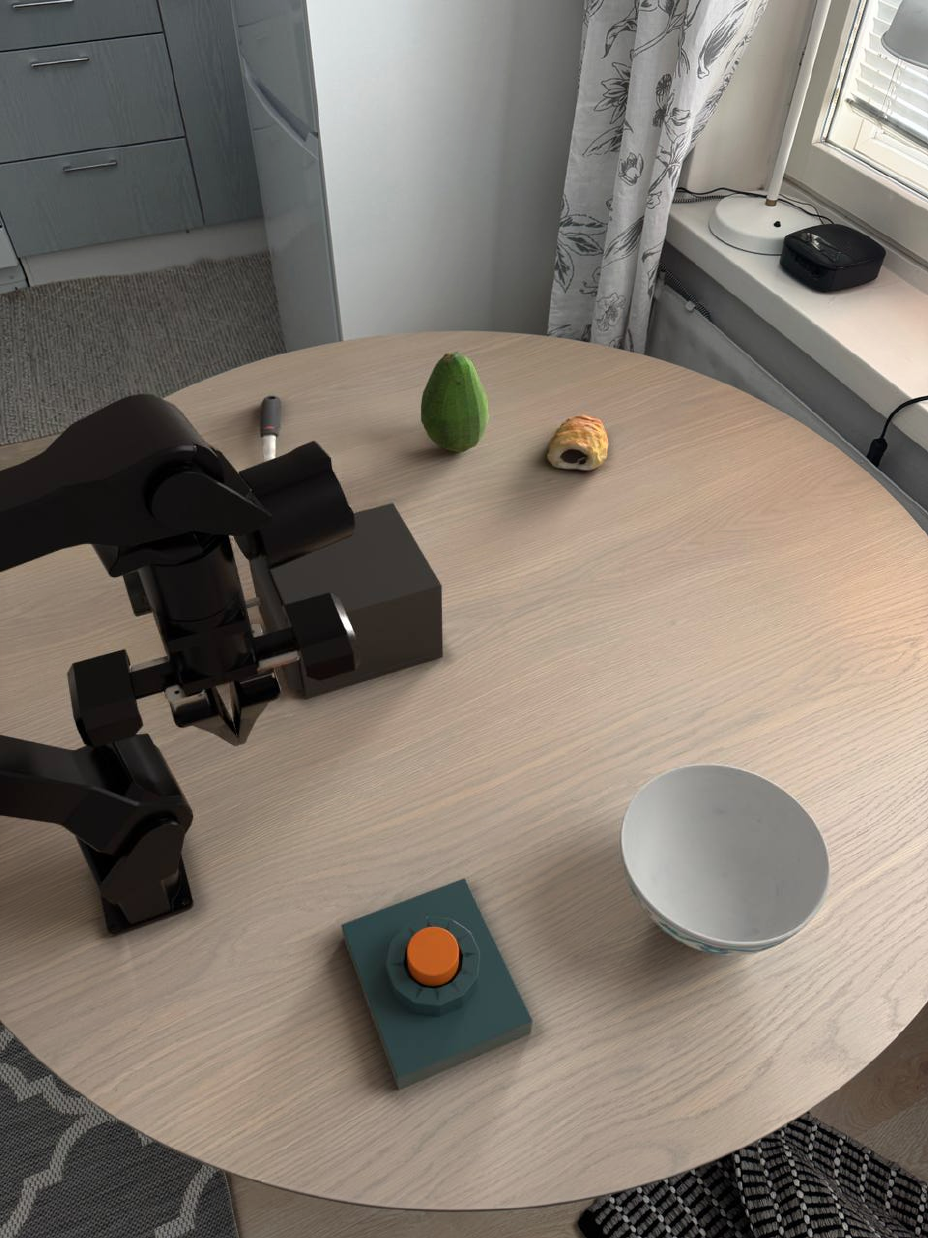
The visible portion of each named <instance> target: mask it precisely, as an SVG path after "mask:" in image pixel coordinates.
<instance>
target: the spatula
mask: <svg viewBox="0 0 928 1238" xmlns="http://www.w3.org/2000/svg"><path fill="white" fill-rule="evenodd" d="M281 416H282V400H281V398H280V397H278V396H276V395H268V396H266V397H264V398H263V399H262V400H261V407H260V423H259V435H260V437H261V439H262V463H263V462H266V461H269V460H271V459H274V458H277V456H276V450H277V449H276V442H277V440H276V439H277V438H278V437H279V435H280V426H281V418H282V417H281Z"/></svg>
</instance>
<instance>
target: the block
mask: <svg viewBox="0 0 928 1238" xmlns="http://www.w3.org/2000/svg"><path fill="white" fill-rule="evenodd" d="M428 927H438V928H442V929H445V930H446V931H448V932H449V933H451V934H452V935H453V936H454V938H455V939H456V941H457V944H458V948H459V965H458V969H457V971H456V973H455V975H454V976H453V977H452V979H450V980H449V981H448V982H446V983H444V984H442V985H439V986H427V985H424V984H421V983H419V982H418V981H417V980H415V979H414V978H413V976H412V975H411V973H410V971H409V968H408V960H407V947H408V944H409V941H410V940H411V938H412V937H413V936H414V935H415V934H416V933H417V932H418V931H420V930H422V929H425V928H428ZM341 931H342V937H343V941H344V944H345V946H346V949H347V952H348V955H349V958H350V960H351V963H352V966H353V969H354V971H355V974H356V977H357V979H358V983H359V985H360V988H361V990H362V993H363V997H364V999H365V1001H366V1004H367V1008H368V1010H369V1013H370V1015H371V1018H372V1021H373V1024H374V1027H375V1029H376V1032H377V1035H378V1038H379V1040H380V1043H381V1046H382V1048H383V1052H384V1054H385V1057H386V1060H387V1063H388V1065H389V1068H390V1071H391V1073H392V1076H393V1079H394V1082H395V1085H396V1088H397V1090H398V1091H401V1090H403V1089H406V1088H407V1087H409V1086H412V1085H415V1084H416V1083H419V1082H421V1081H424V1080H426V1079H428V1078H431V1077H433V1076H436V1075H438V1074H440V1073H442V1072H445V1071H447V1070H449V1069H452V1068H453V1067H456V1066H458V1065H461V1064H463V1063H465V1062H467V1061H470V1060H473V1059H475V1058H477V1057H479V1056H482V1055H484V1054H486V1053H488V1052H490V1051H493V1050H496V1049H497V1048H500V1047H502V1046H505V1045H506V1044H507V1045H508V1044H510V1043H512V1042H513V1041H516V1040H519V1039H520V1038H523V1037H525V1036H527V1035H530V1034H531V1033H532V1027H533V1018H532V1016H531V1014H530V1012H529V1010H528V1008H527V1005H526V1003H525V1002H524V999H523V997H522V995H521V992H520V991H519V989H518V986H517V985H516V982H515V980H514V978H513V975H512V974H511V971H510V970H509V968H508V966H507V963H506V961H505V959H504V957H503V955H502V953H501V951H500V948H499V947H498V944H497V942H496V940H495V938H494V936H493V933H492V931H491V929H490V928H489V925H488V923H487V921H486V919H485V917H484V915H483V913H482V910H481V908H480V907H479V904H478V902H477V900H476V898H475V896H474V894H473V892H472V890H471V888H470V885H469V883H468V881H467V879H466V878H465V877H464V878H461V879H458V880H455V881H453V882H451V883H448V884H445V885H442V886H440V887H437V888H434V889H432V890H429V891H426V892H424V893H422V894H418V895H416V896H413V897H411V898H408V899H405V900H403V901H400V902H398V903H395V904H392V905H390V906H387V907H384V908H382V909H378V910H376V911H373V912H371V913H369V914H368V913H367V914H366V915H363V916H360V917H358V918H355V919H353V920H350V921H347V922H344V923H342V924H341Z"/></svg>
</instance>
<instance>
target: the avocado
mask: <svg viewBox="0 0 928 1238" xmlns="http://www.w3.org/2000/svg"><path fill="white" fill-rule="evenodd" d="M480 379H481V378H480V377H479V375H478V373H477V371H476V369H475V366H474V364H473V362H472V361H471V360H470V358H468V357H466V356H465V355H464V354H463V353H461V352H459V351H455V352H447V353H444V355H443V356H442V357H441V358H439V360H438V361H437V363H436V364H435V366H434V367H433V370H432V372H431V373H430V376H429V378H428V381H427V382H426V385H425V387H424V389H423V392H422V396H421V403H420V421H421V423H422V426H423V428H424V430H425V432H426V435H427V437H428V438H429V439H430V440H431V441H432V442H433V443H434V444H436V445H438V447H441V448H443V449H445V450H448V451H451V452H456V453H457V452H458V453H459V452H462V453H464V452H466V451H468V450H471V449H472V448H474V447H476V446H477V445H478V443H480V441H481V440H482V438H483V437H484V435H485V433H486V429H487V426H488V424H489V423H488V422H489V419H490V417H489V403H488V402H489V400H488V397H487V393H486V391H485V389H484V386H483V383H482V381H481V380H480Z"/></svg>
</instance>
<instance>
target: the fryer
mask: <svg viewBox="0 0 928 1238" xmlns="http://www.w3.org/2000/svg"><path fill="white" fill-rule="evenodd" d="M353 513H354V518H355V531H354V534H353V535H352V536H351V537H348V538H346V539H344V540H341V541H339V542H337V543H334V544H332V545H329V546H327V547H325V548H322V549H320V550H318V551H315V552H313V553H310V554H308V555H306V556H303V557H301V558H299V559H296V560H294V561H291V562H289V563H287V564H284V565H282V566H279V567H277V568H275V569H271V570H269V573H270V576H271V578H272V580H273V583H274V585H275V587H276V590H277V592H278V595H279V597H280V599H281V602H282V604H283V605H286V604H289V603H293V602H296V601H300V600H304V599H307V598H311V597H315V596H318V595H322V594H325V593H329V592H330V593H332V594H333V595H335V596H337V597H338V598H339V599H340V601H341V603H342V606H343V608H344V610H345V612H346V615H347V617H348V619H349V622H350V624H351V626H352V629H353V631H354V633H355V636H356V639H357V643H358V646H359V652H360V660H361V663H360V664H359V666H358V667H357V669H356V670H355V671H352V672H348V673H345V674H342V675H338V676H335V677H332V678H328V679H325V680H322V681H318V680H315V679H312V678H309V677H307V675H306V673H305V669H304V664H303V660H302V658H301V655H300V653H299V655H300V659H299V666H300V672H301V678H302V683H303V689H302V692H303V695H304V697H305V699H306V700H308V699H311V698H314V697H319V696H321V695H324V694H328V693H332V692H334V691H338V690H341V689H344V688H347V687H350V686H355V685H357V684H360V683H363V682H367V681H371V680H374V679H376V678H379V677H384V676H386V675H389V674H392V673H396V672H399V671H402V670H405V669H408V668H413V667H415V666H419V665H421V664H425V663H428V662H431V661H435V660H438V659H441V658H443V657H444V652H443V651H444V649H443V586H442V585H443V584H442V583H441V581H440V579H439V578H438V576H437V574H436V573H435V571H434V569H433V568H432V566H431V564H430V563H429V561H428V559H427V558H426V556H425V554H424V553H423V551H422V549H421V547H420V546H419V543H418V542H417V540H416V539H415V537H414V535H413V534H412V532H411V530H410V528H409V527H408V526H407V523H406V522H405V521H404V518H403V517H402V515H401V513H400V512H399V510H398V508H397V507H396V505H395V504H394V503H393V502H391V503H386V504H383V505H379V506H376V507H372V508H368V509H364V510H359V511H355V512H353Z"/></svg>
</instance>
